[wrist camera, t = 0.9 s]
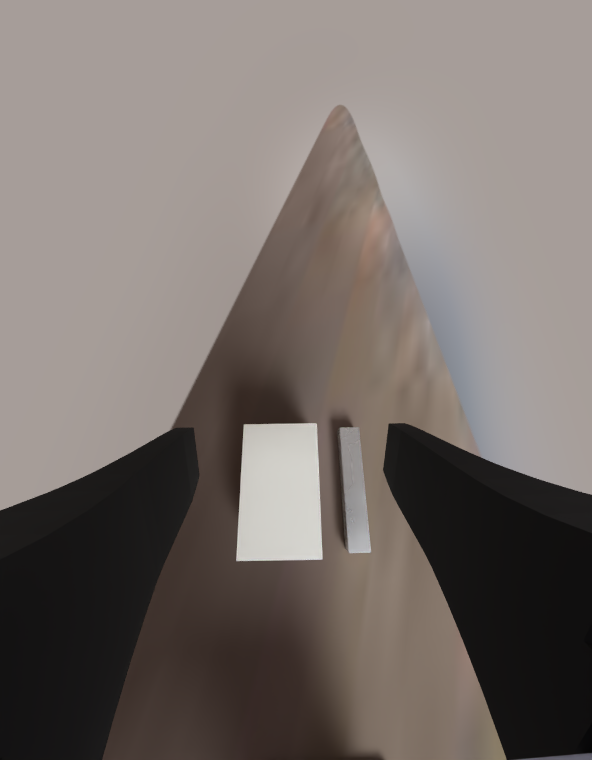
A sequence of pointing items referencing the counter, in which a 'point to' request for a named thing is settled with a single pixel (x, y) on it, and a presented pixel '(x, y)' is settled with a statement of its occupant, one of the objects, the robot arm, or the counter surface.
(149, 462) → the robot arm
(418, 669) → the counter surface
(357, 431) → the rail
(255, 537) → the cabinet block
